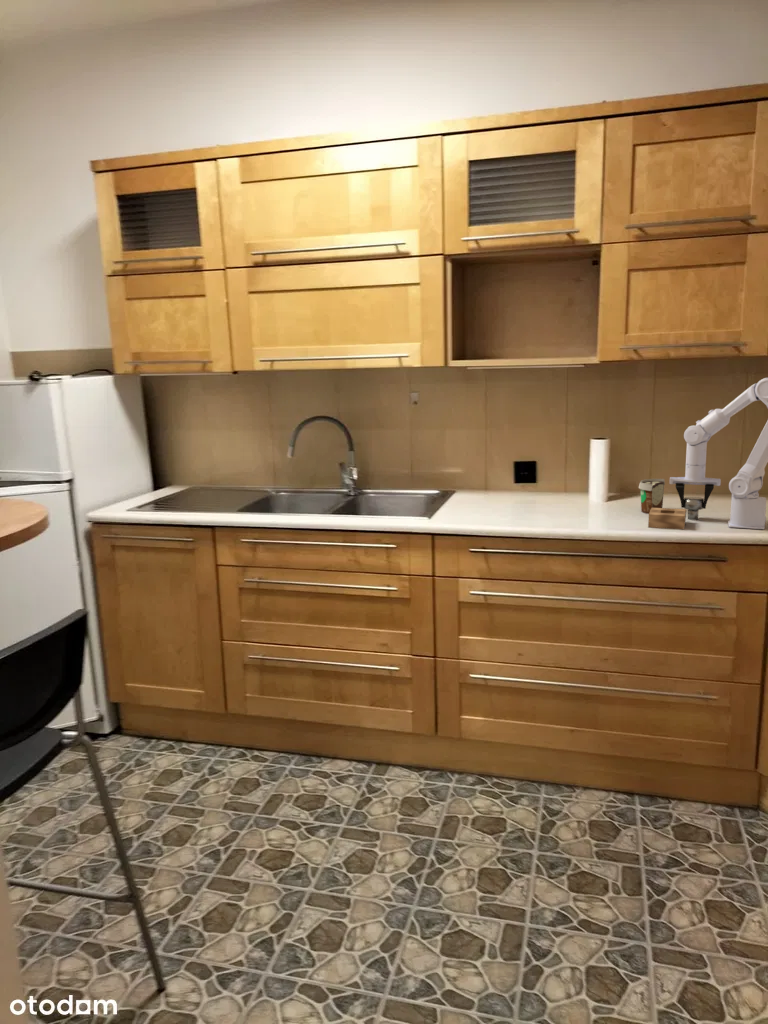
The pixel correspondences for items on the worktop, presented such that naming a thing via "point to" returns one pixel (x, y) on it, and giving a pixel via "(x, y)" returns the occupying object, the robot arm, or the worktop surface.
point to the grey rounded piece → (693, 506)
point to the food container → (651, 494)
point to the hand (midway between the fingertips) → (693, 507)
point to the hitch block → (667, 518)
